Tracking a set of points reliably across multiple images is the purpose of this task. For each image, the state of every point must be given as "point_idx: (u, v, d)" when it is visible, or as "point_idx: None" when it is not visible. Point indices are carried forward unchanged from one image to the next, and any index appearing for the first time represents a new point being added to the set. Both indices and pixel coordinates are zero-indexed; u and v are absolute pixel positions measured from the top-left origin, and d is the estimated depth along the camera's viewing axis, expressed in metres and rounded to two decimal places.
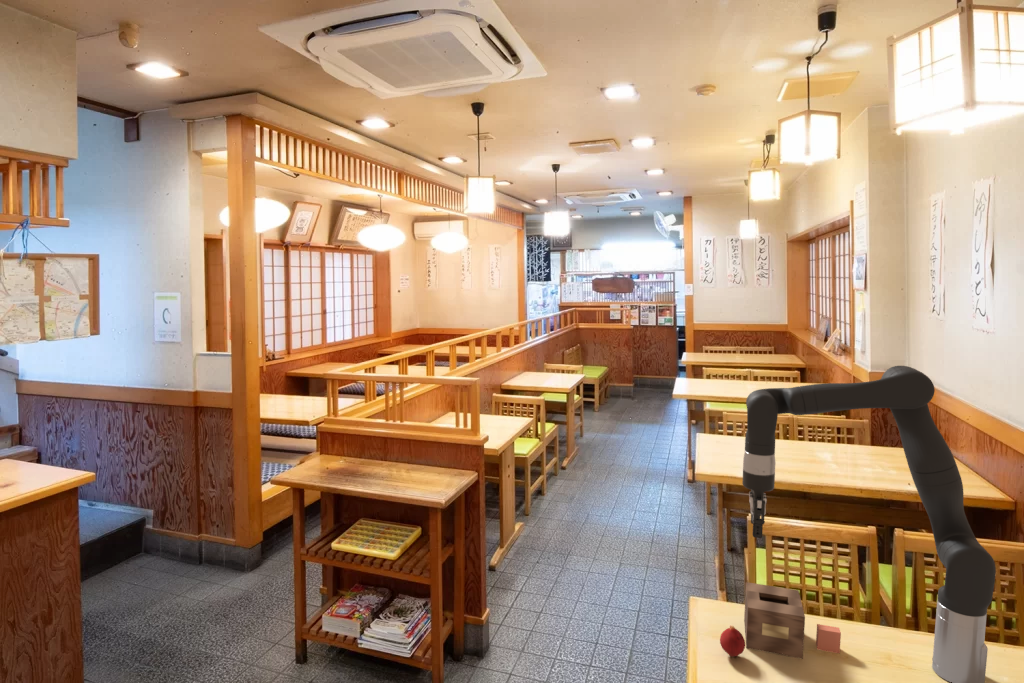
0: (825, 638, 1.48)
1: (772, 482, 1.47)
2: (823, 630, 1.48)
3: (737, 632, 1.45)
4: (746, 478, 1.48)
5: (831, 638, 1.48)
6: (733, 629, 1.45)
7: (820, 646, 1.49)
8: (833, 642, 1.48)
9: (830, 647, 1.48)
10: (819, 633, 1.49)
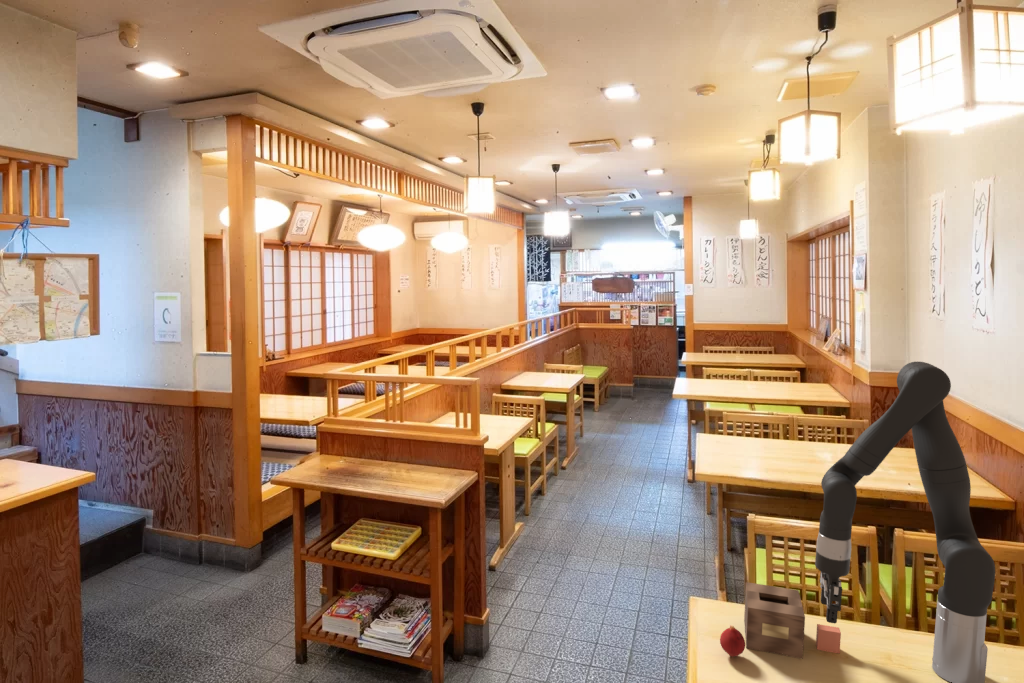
0: (825, 638, 1.48)
1: (848, 567, 1.44)
2: (823, 630, 1.48)
3: (737, 632, 1.45)
4: (820, 561, 1.46)
5: (831, 638, 1.48)
6: (733, 629, 1.45)
7: (820, 646, 1.49)
8: (833, 642, 1.48)
9: (830, 647, 1.48)
10: (819, 633, 1.49)
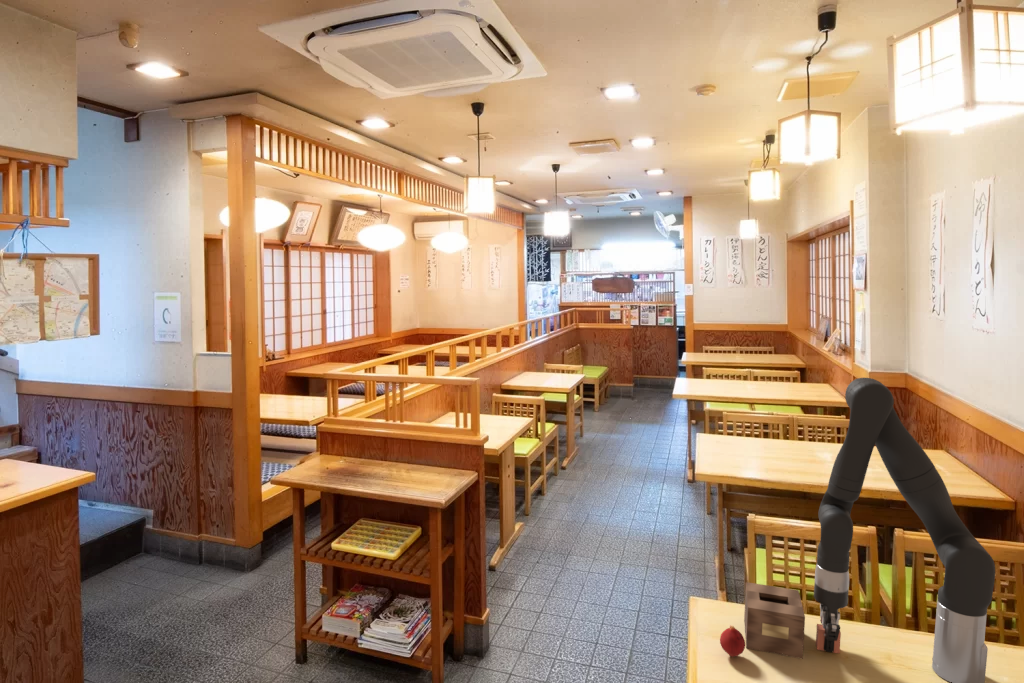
0: None
1: (846, 598, 1.45)
2: (823, 630, 1.48)
3: (737, 632, 1.45)
4: (818, 593, 1.47)
5: None
6: (733, 629, 1.45)
7: (820, 646, 1.49)
8: None
9: None
10: (819, 633, 1.48)
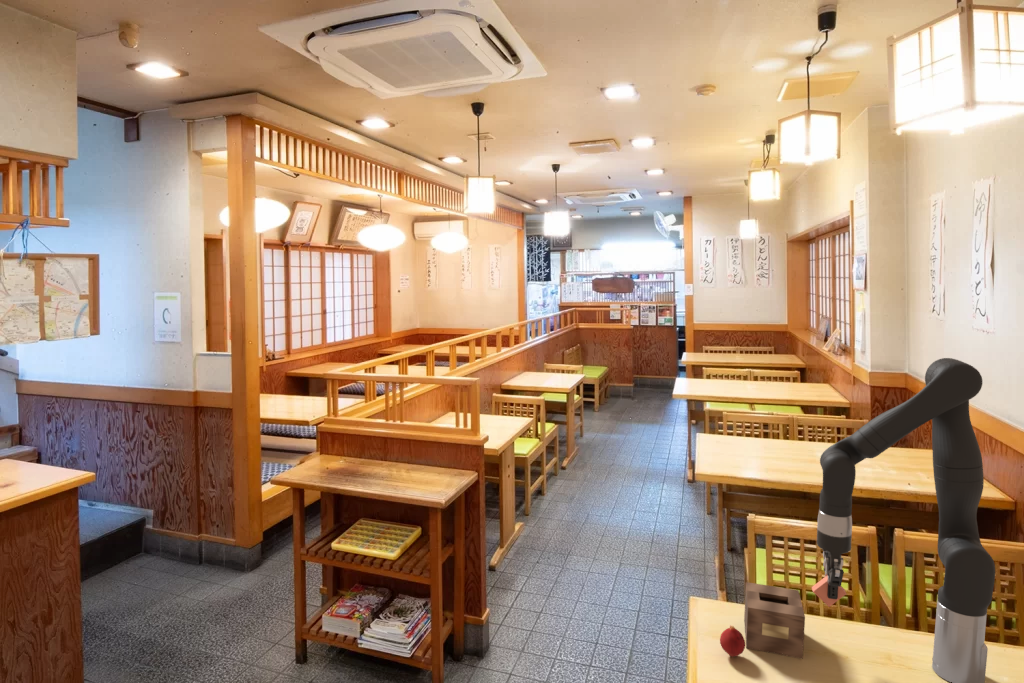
0: None
1: (849, 544, 1.43)
2: None
3: (737, 632, 1.45)
4: (821, 539, 1.45)
5: None
6: (733, 629, 1.45)
7: (818, 591, 1.48)
8: None
9: (826, 597, 1.47)
10: None
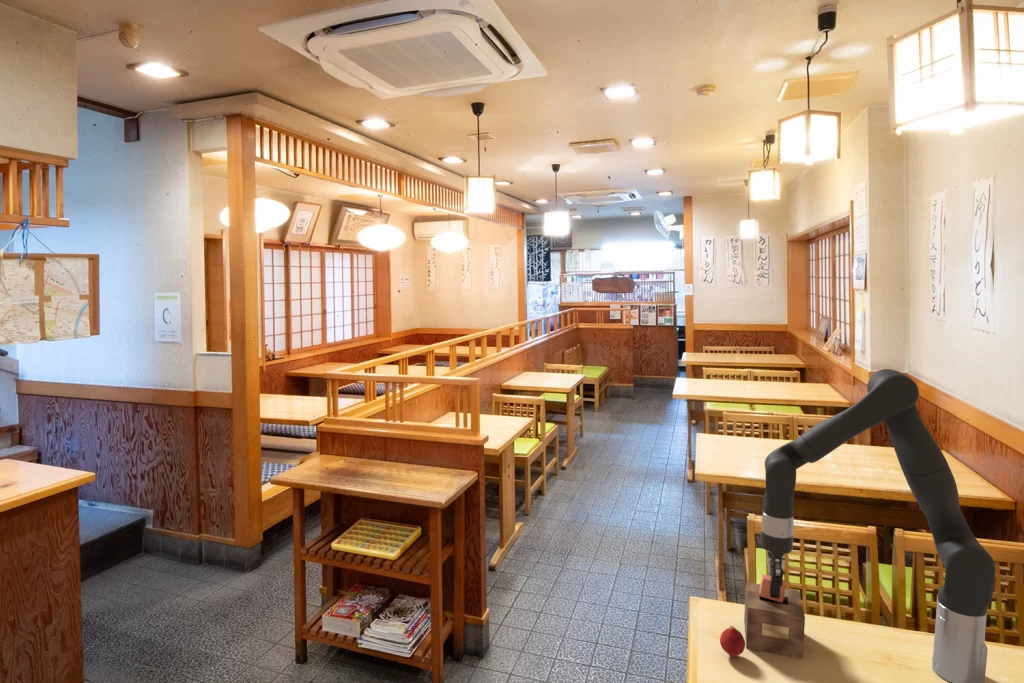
0: None
1: (790, 544, 1.48)
2: (784, 588, 1.50)
3: (737, 632, 1.45)
4: (764, 539, 1.50)
5: None
6: (733, 629, 1.45)
7: (766, 581, 1.51)
8: None
9: (766, 590, 1.52)
10: None
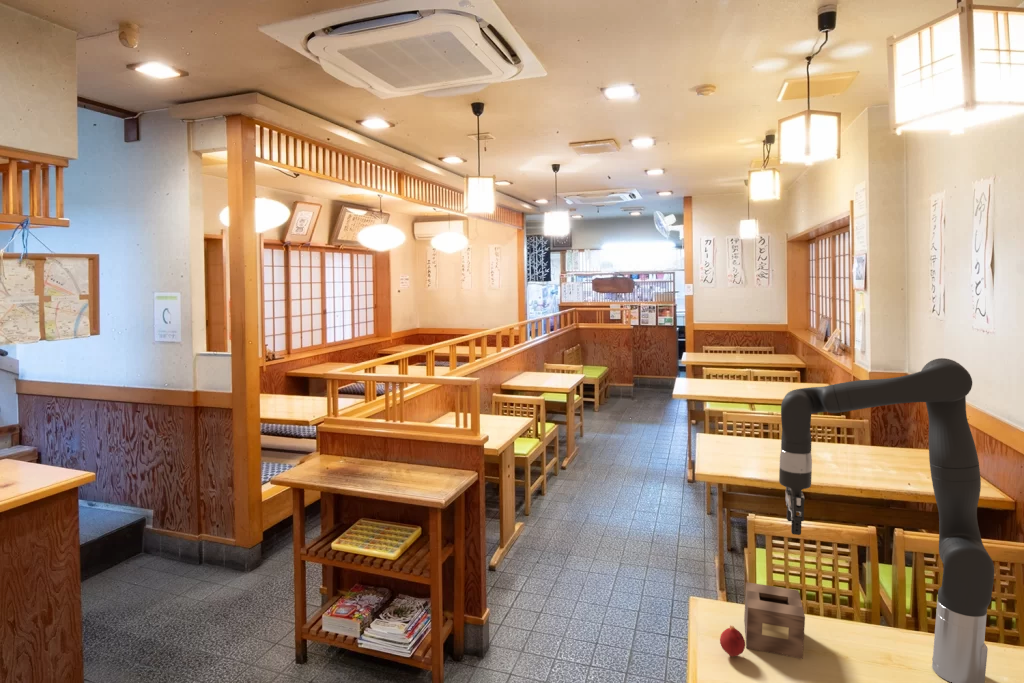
0: None
1: (809, 480, 1.50)
2: None
3: (737, 632, 1.45)
4: (783, 476, 1.51)
5: None
6: (733, 629, 1.45)
7: None
8: None
9: None
10: None
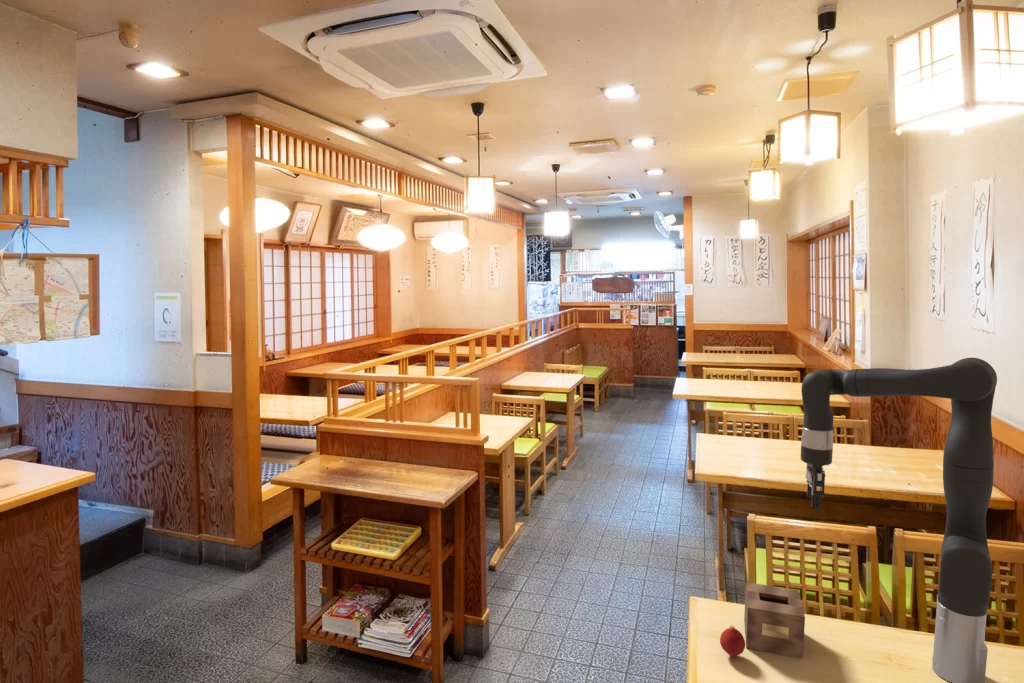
0: None
1: (830, 456, 1.54)
2: None
3: (737, 632, 1.45)
4: (805, 453, 1.56)
5: None
6: (733, 629, 1.45)
7: None
8: None
9: None
10: None
